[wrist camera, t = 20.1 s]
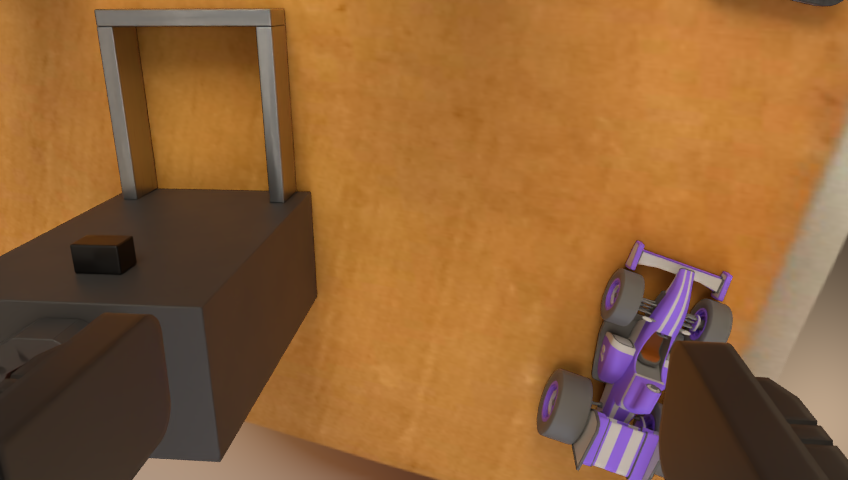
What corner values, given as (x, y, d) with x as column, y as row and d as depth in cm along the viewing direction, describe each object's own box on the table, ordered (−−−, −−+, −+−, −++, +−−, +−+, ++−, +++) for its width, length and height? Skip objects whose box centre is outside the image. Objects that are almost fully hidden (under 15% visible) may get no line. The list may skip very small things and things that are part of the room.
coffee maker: (130, 187, 48) (-118, 316, 29) (310, 191, 47) (181, 328, 27) (146, 291, 51) (-71, 474, 31) (317, 297, 50) (203, 491, 30)
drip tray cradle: (118, 8, 44) (-69, 12, 29) (284, 8, 43) (177, 12, 28) (144, 188, 48) (-10, 271, 33) (296, 191, 47) (208, 278, 32)
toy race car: (747, 277, 46) (787, 320, 40) (651, 449, 51) (674, 510, 45) (616, 231, 46) (635, 266, 40) (533, 408, 51) (539, 463, 45)
